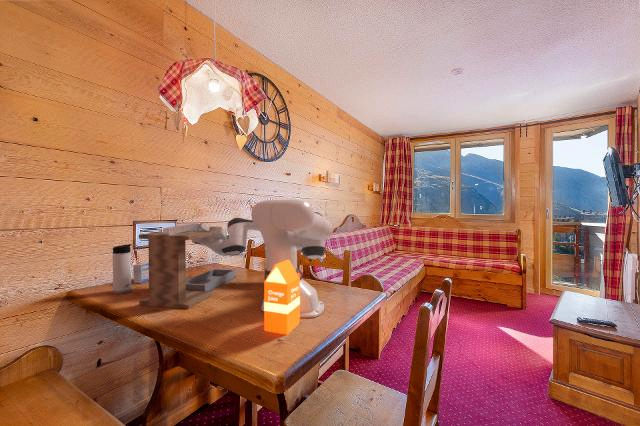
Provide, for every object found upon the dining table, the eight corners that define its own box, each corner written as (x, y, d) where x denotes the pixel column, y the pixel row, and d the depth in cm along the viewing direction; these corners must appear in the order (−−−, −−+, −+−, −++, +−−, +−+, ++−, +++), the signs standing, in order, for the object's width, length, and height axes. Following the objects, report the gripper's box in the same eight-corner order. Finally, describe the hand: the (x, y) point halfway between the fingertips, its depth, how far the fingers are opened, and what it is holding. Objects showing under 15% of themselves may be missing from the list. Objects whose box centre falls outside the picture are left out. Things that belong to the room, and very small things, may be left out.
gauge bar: (203, 227, 123) (203, 222, 123) (169, 234, 101) (168, 228, 101) (198, 227, 123) (198, 222, 123) (163, 234, 102) (162, 228, 102)
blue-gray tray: (235, 277, 143) (235, 270, 143) (205, 294, 115) (205, 285, 115) (213, 276, 145) (213, 268, 145) (177, 292, 118) (177, 283, 117)
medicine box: (141, 283, 131) (141, 265, 130) (133, 283, 131) (133, 264, 131) (154, 279, 138) (154, 261, 138) (146, 278, 139) (146, 261, 139)
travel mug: (132, 292, 118) (131, 244, 117) (112, 294, 114) (112, 246, 114) (132, 288, 123) (131, 243, 122) (113, 290, 119) (112, 244, 119)
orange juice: (300, 322, 88) (300, 259, 87) (287, 335, 80) (287, 265, 79) (278, 319, 90) (278, 258, 90) (263, 330, 82) (263, 263, 82)
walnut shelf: (212, 295, 114) (211, 232, 113) (188, 308, 99) (188, 235, 98) (168, 292, 117) (167, 231, 116) (139, 305, 102) (138, 234, 102)
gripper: (230, 244, 128) (216, 232, 116) (190, 243, 132) (172, 231, 120) (233, 232, 131) (220, 218, 119) (194, 231, 134) (177, 218, 122)
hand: (196, 224), depth 119 cm, fingers closed on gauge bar, 2 cm apart
